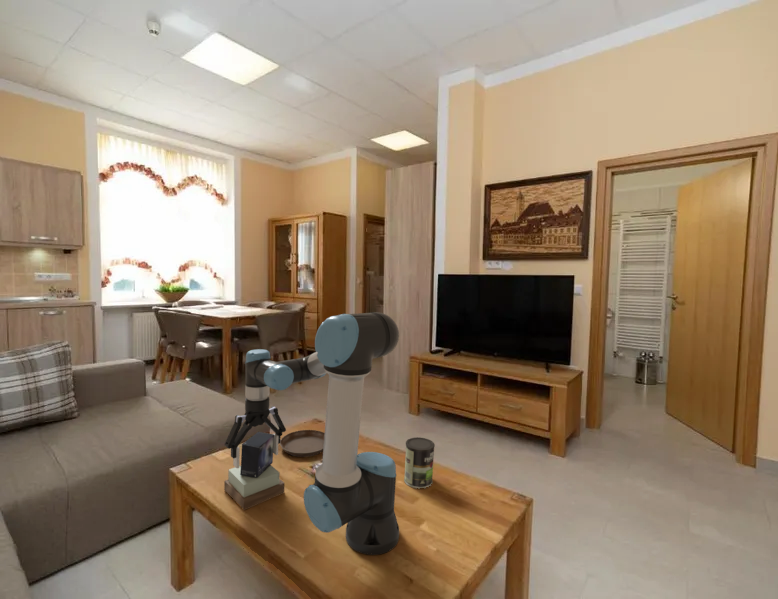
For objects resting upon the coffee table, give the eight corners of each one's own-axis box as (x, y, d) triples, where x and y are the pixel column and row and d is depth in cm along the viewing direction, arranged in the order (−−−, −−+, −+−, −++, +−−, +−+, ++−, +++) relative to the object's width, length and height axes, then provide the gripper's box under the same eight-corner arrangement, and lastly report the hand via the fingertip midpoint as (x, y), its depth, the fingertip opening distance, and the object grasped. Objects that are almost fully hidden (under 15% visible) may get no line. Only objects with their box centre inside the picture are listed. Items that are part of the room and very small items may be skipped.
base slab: (284, 494, 130) (284, 482, 129) (243, 511, 120) (244, 499, 119) (263, 477, 139) (263, 466, 139) (224, 492, 129) (224, 480, 129)
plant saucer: (314, 464, 149) (314, 456, 149) (269, 453, 156) (269, 445, 156) (338, 442, 169) (339, 434, 169) (297, 433, 175) (297, 426, 175)
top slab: (279, 483, 129) (279, 472, 128) (243, 497, 120) (243, 485, 120) (262, 469, 137) (262, 458, 137) (228, 481, 129) (228, 469, 129)
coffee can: (437, 479, 142) (439, 442, 141) (423, 492, 133) (425, 452, 132) (413, 470, 148) (414, 434, 146) (398, 482, 139) (400, 444, 138)
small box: (258, 479, 124) (259, 447, 123) (239, 475, 125) (240, 444, 124) (273, 462, 134) (275, 433, 133) (256, 460, 135) (257, 430, 134)
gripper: (285, 387, 139) (284, 444, 140) (213, 402, 121) (213, 467, 123) (296, 392, 134) (295, 452, 135) (224, 409, 116) (223, 477, 117)
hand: (256, 459), depth 129 cm, fingers open, 13 cm apart
